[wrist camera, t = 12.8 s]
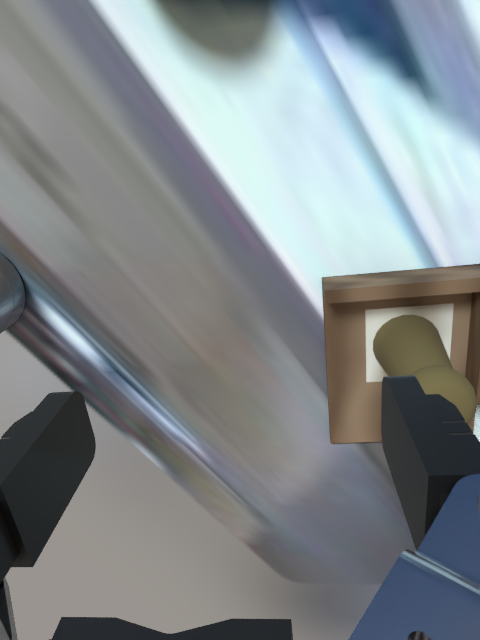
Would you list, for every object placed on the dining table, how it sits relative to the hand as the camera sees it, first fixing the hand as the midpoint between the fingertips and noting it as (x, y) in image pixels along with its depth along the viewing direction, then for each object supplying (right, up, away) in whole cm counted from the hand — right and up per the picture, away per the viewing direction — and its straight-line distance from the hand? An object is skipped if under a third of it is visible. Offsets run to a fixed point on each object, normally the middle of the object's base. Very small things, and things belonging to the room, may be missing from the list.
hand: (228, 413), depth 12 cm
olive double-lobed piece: (+16, 0, +30) cm, 34 cm away
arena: (+16, -1, +31) cm, 35 cm away
